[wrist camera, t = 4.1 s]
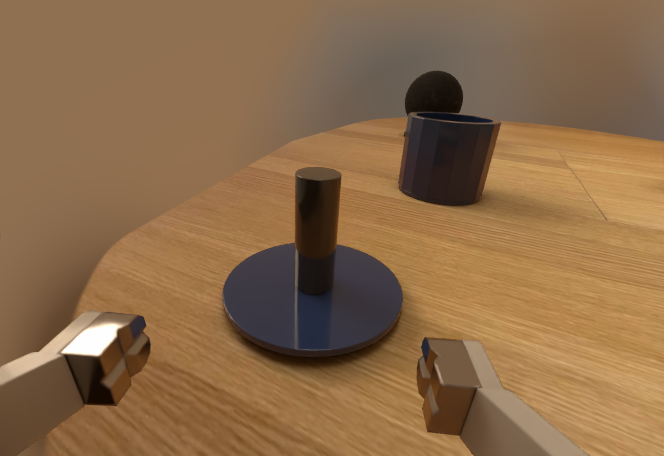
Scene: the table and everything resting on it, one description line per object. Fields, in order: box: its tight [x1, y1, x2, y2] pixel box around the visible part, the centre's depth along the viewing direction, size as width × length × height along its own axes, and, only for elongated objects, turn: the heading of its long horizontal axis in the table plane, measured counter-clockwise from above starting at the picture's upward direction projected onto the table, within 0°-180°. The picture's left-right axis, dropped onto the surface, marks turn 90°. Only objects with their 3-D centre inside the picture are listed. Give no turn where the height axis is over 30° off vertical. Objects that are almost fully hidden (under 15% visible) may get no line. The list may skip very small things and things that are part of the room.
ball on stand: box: [404, 71, 463, 136], centre depth 79 cm, size 13×13×15 cm
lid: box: [222, 167, 403, 357], centre depth 20 cm, size 12×12×9 cm
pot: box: [398, 112, 501, 205], centre depth 42 cm, size 11×11×10 cm
